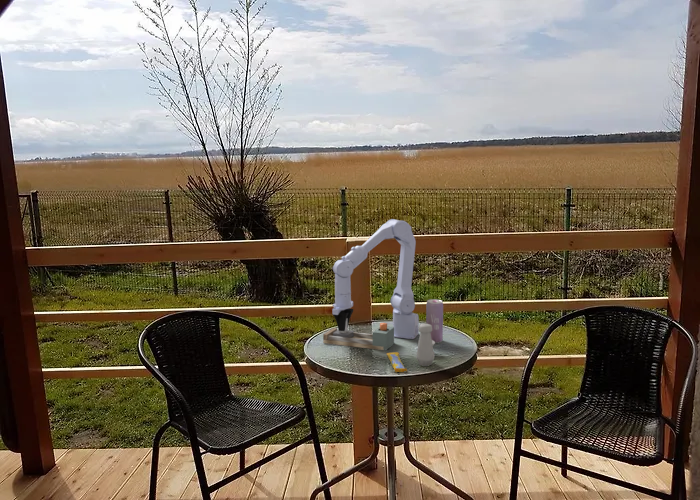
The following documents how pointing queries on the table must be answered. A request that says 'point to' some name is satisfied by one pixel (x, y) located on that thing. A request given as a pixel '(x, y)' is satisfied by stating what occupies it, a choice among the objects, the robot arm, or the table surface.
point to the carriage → (344, 332)
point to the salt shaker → (425, 346)
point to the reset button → (383, 326)
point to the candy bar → (396, 362)
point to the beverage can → (435, 319)
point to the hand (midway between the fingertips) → (343, 329)
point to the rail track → (351, 340)
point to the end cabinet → (383, 338)
